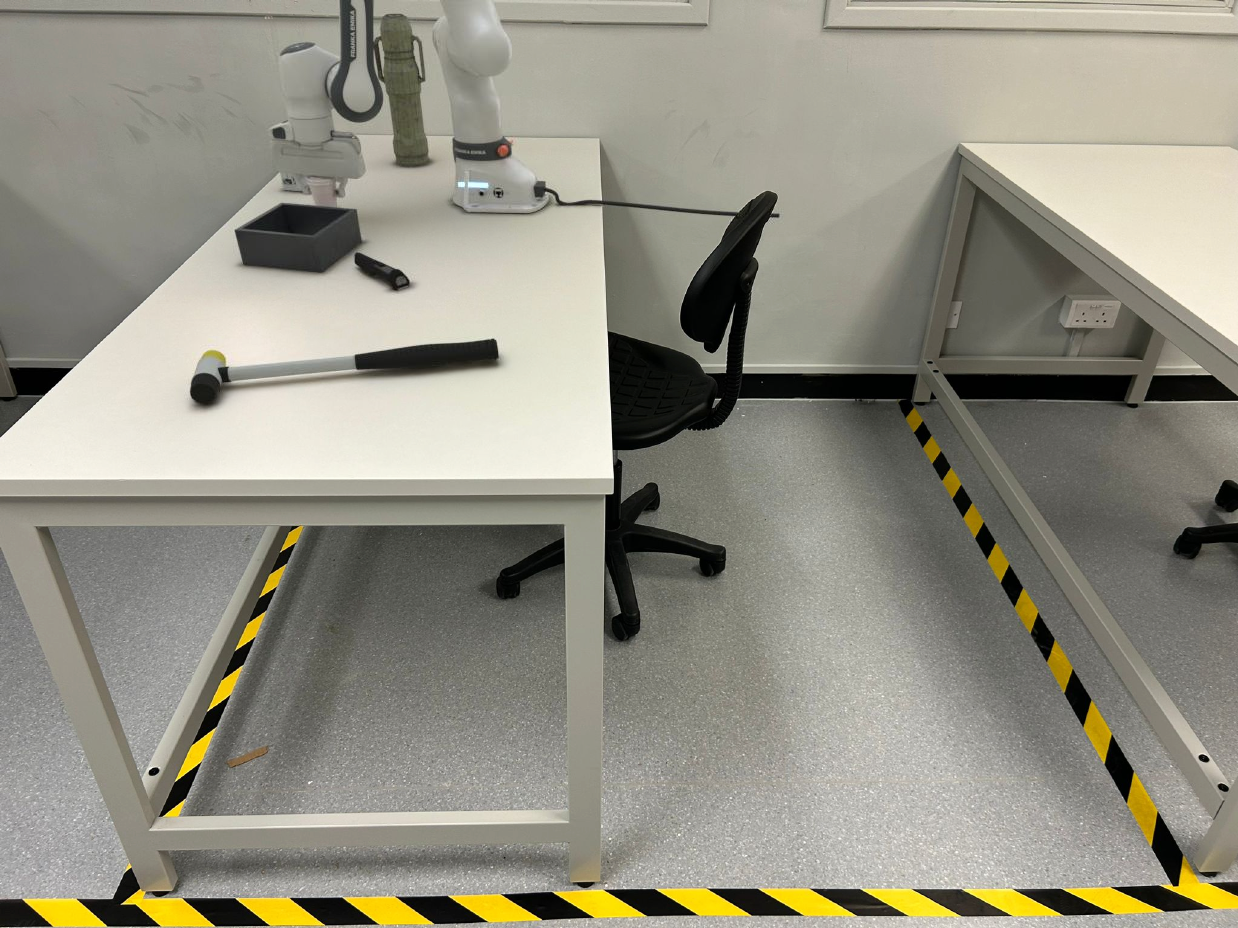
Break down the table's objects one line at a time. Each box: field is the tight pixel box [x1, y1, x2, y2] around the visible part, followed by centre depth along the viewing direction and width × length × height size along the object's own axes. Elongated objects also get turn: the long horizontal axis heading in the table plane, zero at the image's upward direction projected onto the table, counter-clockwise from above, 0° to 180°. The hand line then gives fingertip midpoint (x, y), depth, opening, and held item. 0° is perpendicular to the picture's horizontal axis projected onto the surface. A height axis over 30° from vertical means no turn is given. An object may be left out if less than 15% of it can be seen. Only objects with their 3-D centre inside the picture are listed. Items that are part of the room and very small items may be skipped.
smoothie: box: [306, 175, 338, 207], centre depth 186 cm, size 6×6×14 cm
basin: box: [234, 202, 363, 274], centre depth 172 cm, size 17×17×7 cm
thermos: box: [374, 13, 430, 168], centre depth 218 cm, size 9×12×35 cm
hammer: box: [189, 338, 500, 405], centre depth 132 cm, size 45×11×4 cm, turn 103°
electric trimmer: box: [353, 251, 411, 291], centre depth 163 cm, size 4×16×3 cm, turn 45°
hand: (324, 195), depth 187 cm, fingers closed on smoothie, 6 cm apart
